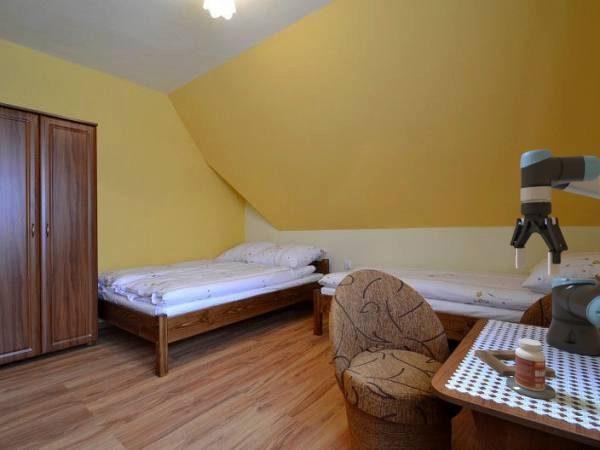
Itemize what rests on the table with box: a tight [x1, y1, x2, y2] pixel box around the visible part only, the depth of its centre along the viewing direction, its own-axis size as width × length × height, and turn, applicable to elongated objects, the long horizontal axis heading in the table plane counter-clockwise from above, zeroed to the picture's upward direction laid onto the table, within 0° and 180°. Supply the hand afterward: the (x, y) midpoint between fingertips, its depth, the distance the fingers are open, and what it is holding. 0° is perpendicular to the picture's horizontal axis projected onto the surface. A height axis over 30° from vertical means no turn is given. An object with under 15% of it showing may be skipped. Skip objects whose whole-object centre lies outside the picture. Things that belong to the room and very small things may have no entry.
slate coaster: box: [505, 376, 557, 400], centre depth 78 cm, size 10×10×1 cm
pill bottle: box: [514, 338, 546, 391], centre depth 78 cm, size 6×6×11 cm
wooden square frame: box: [474, 349, 556, 378], centre depth 91 cm, size 14×14×2 cm
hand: (536, 271), depth 95 cm, fingers open, 13 cm apart
